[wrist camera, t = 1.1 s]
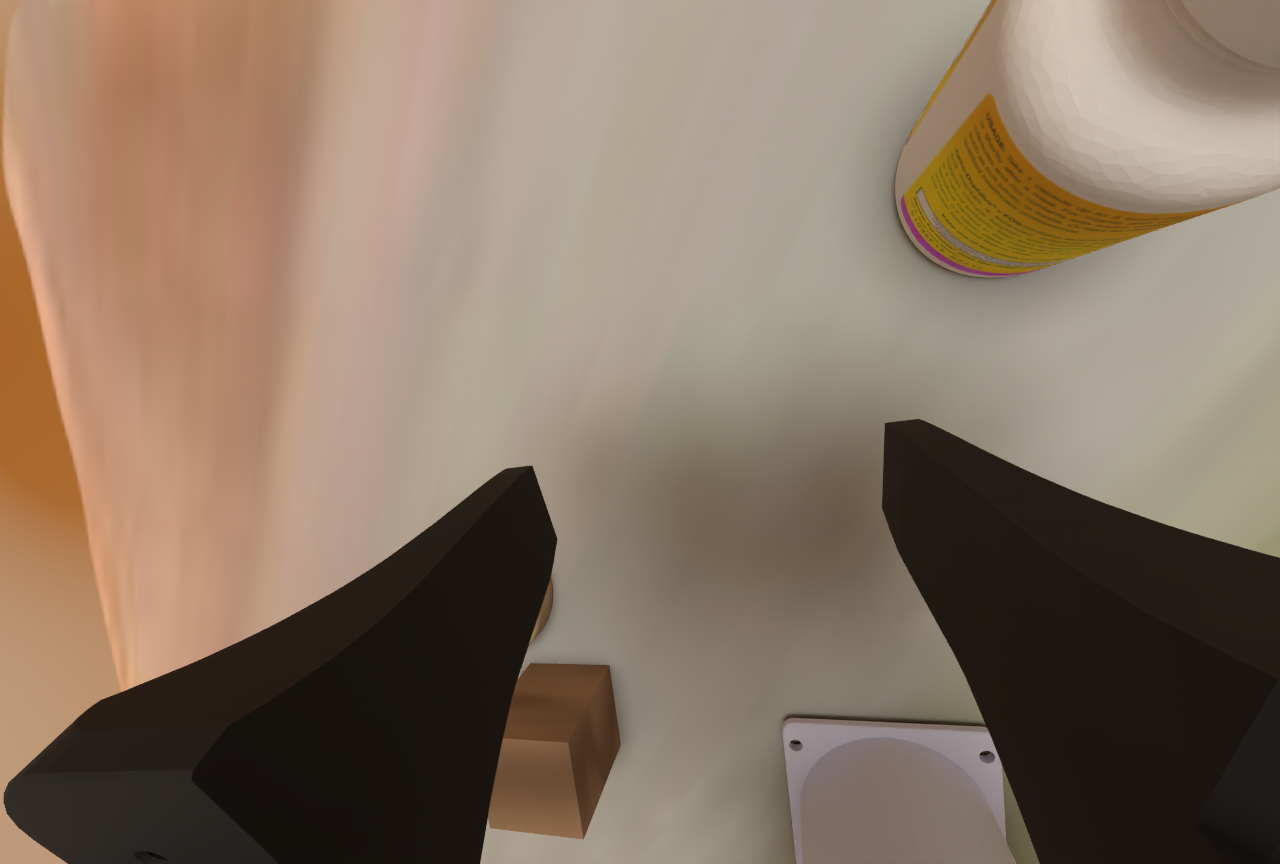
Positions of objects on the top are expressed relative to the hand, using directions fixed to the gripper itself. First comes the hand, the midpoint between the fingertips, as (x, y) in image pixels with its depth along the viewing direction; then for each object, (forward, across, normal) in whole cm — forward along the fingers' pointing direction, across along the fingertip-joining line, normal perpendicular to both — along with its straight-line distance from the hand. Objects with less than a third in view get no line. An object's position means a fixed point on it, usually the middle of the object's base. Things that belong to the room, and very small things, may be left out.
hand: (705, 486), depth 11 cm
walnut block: (+6, +8, +16) cm, 19 cm away
